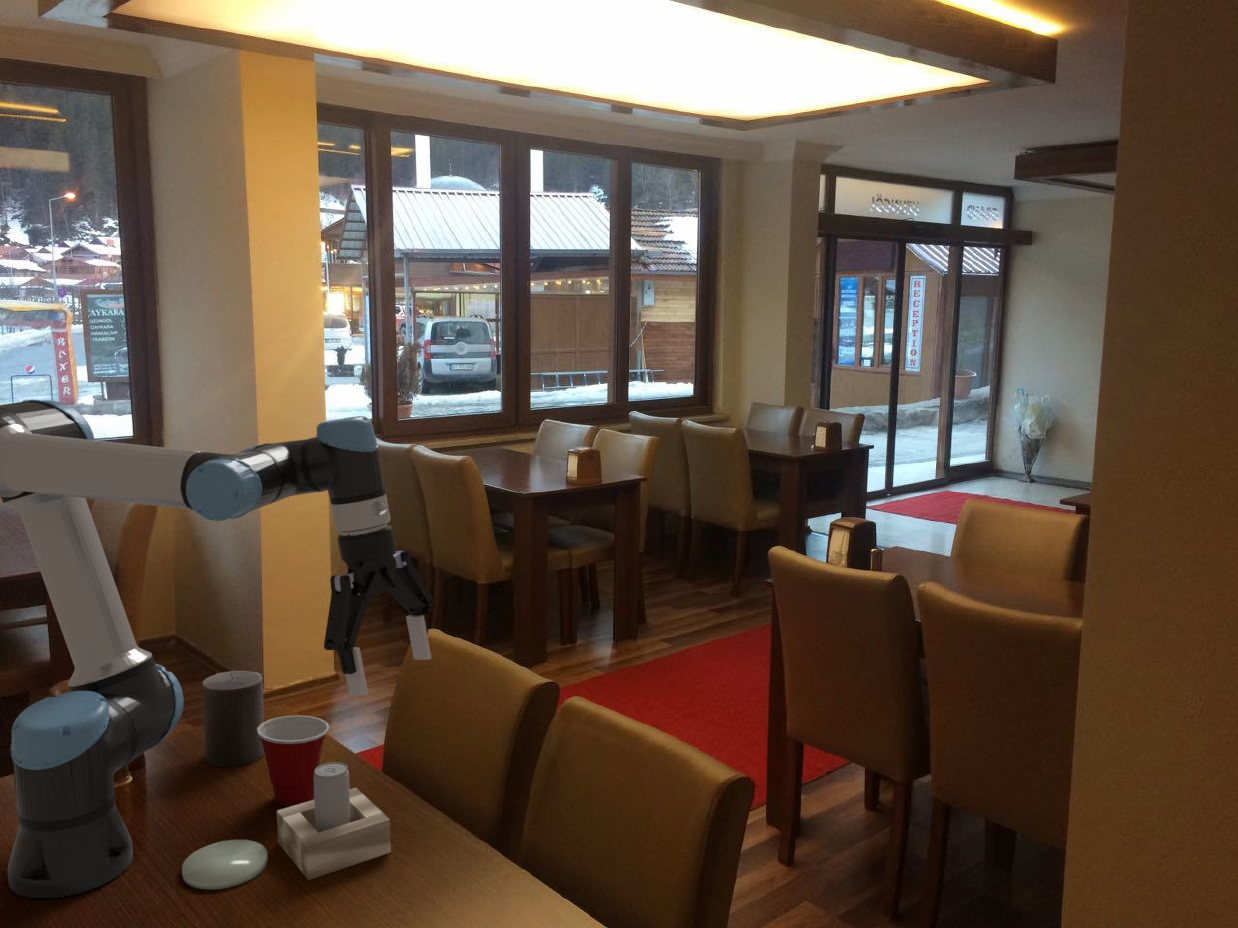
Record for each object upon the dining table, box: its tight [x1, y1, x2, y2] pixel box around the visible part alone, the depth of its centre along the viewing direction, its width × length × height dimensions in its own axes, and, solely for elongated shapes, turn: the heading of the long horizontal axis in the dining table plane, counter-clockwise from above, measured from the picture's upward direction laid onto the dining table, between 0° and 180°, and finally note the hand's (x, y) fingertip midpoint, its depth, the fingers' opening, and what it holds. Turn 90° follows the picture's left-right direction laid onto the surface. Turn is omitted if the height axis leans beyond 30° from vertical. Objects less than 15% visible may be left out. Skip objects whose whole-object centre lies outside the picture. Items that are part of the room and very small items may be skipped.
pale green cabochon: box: [181, 839, 268, 890], centre depth 141 cm, size 11×11×1 cm
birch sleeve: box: [276, 787, 392, 881], centre depth 146 cm, size 12×12×5 cm
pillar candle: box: [201, 670, 265, 768], centre depth 174 cm, size 10×10×15 cm
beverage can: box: [313, 761, 351, 833], centre depth 145 cm, size 5×5×12 cm
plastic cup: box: [257, 714, 330, 807], centre depth 160 cm, size 11×11×12 cm
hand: (392, 676), depth 143 cm, fingers open, 13 cm apart
